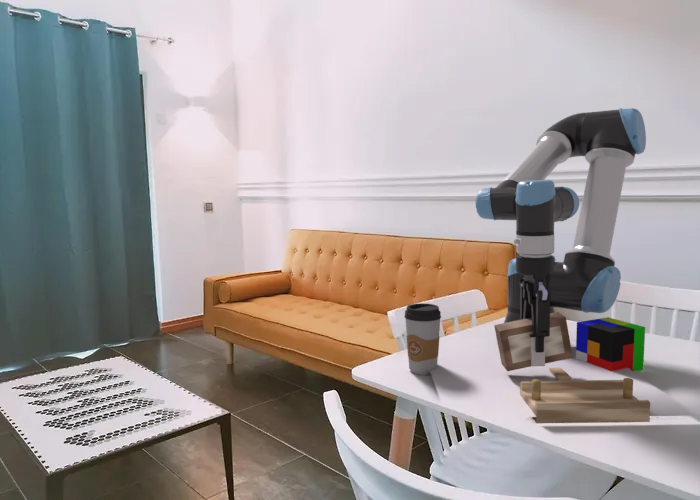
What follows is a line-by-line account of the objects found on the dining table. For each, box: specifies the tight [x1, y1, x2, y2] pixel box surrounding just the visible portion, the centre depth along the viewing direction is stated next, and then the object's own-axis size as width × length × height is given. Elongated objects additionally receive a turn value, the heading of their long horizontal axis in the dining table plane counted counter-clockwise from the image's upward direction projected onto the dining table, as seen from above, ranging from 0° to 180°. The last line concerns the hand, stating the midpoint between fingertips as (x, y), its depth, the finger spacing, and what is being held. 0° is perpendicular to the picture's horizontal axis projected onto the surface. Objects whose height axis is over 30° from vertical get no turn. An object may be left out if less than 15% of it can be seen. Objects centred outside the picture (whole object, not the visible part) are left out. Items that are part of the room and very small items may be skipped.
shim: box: [548, 367, 572, 381], centre depth 116 cm, size 6×2×2 cm, turn 179°
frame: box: [493, 311, 574, 372], centre depth 115 cm, size 14×4×9 cm, turn 89°
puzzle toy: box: [575, 317, 646, 373], centre depth 124 cm, size 10×10×10 cm
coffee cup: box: [404, 302, 442, 376], centre depth 123 cm, size 8×8×15 cm
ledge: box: [519, 377, 651, 424], centre depth 101 cm, size 10×20×6 cm, turn 89°
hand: (533, 361), depth 116 cm, fingers closed on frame, 5 cm apart
